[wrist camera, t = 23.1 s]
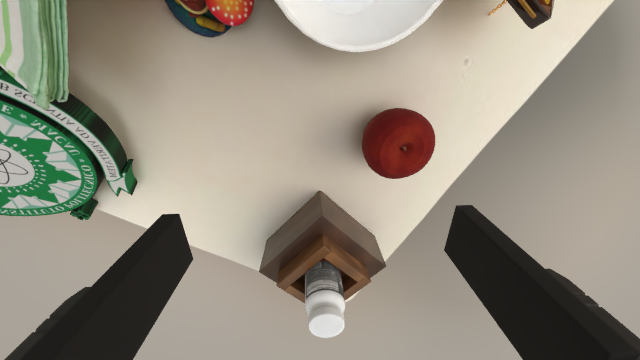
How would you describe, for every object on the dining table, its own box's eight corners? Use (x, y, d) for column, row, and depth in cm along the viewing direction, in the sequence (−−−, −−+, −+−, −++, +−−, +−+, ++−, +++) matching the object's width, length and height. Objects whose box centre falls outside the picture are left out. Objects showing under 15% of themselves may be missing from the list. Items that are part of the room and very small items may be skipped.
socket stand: (266, 240, 47) (255, 286, 37) (320, 190, 43) (323, 227, 33) (321, 277, 52) (324, 328, 42) (374, 236, 48) (391, 280, 38)
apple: (426, 129, 39) (461, 148, 30) (383, 171, 42) (403, 201, 33) (386, 89, 36) (412, 96, 27) (343, 137, 39) (353, 158, 30)
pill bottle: (335, 282, 42) (343, 342, 33) (302, 279, 41) (301, 339, 32) (342, 257, 39) (353, 314, 30) (308, 253, 39) (308, 310, 30)
